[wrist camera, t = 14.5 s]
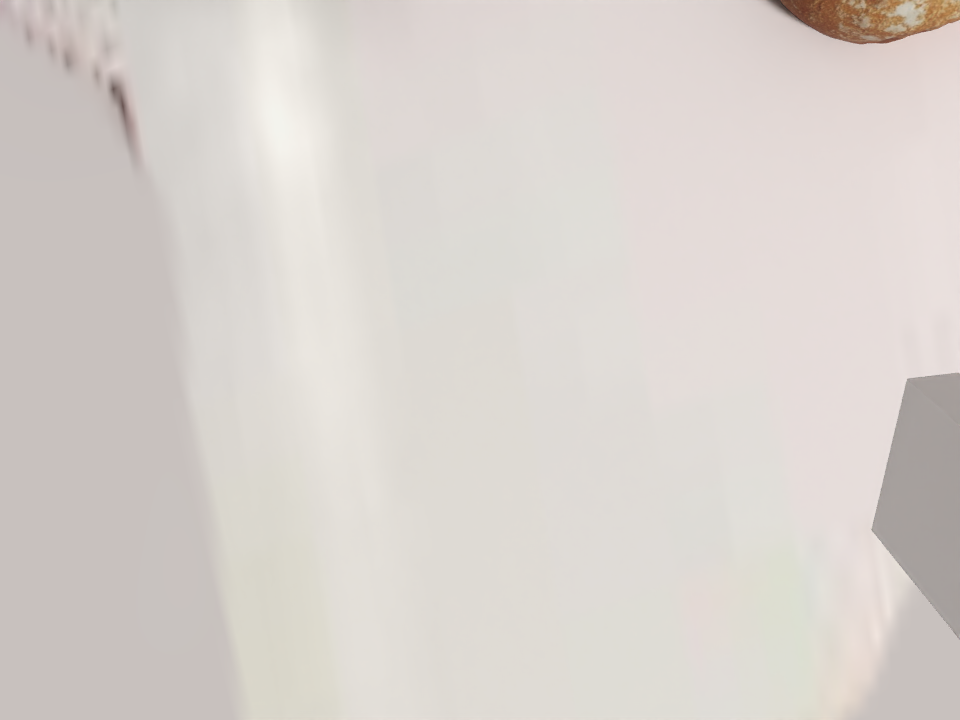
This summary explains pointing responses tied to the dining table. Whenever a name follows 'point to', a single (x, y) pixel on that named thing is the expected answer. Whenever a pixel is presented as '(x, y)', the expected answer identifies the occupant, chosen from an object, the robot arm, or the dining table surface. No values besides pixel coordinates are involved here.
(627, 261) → the dining table surface
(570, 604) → the dining table surface
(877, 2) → the bread roll
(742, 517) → the dining table surface
